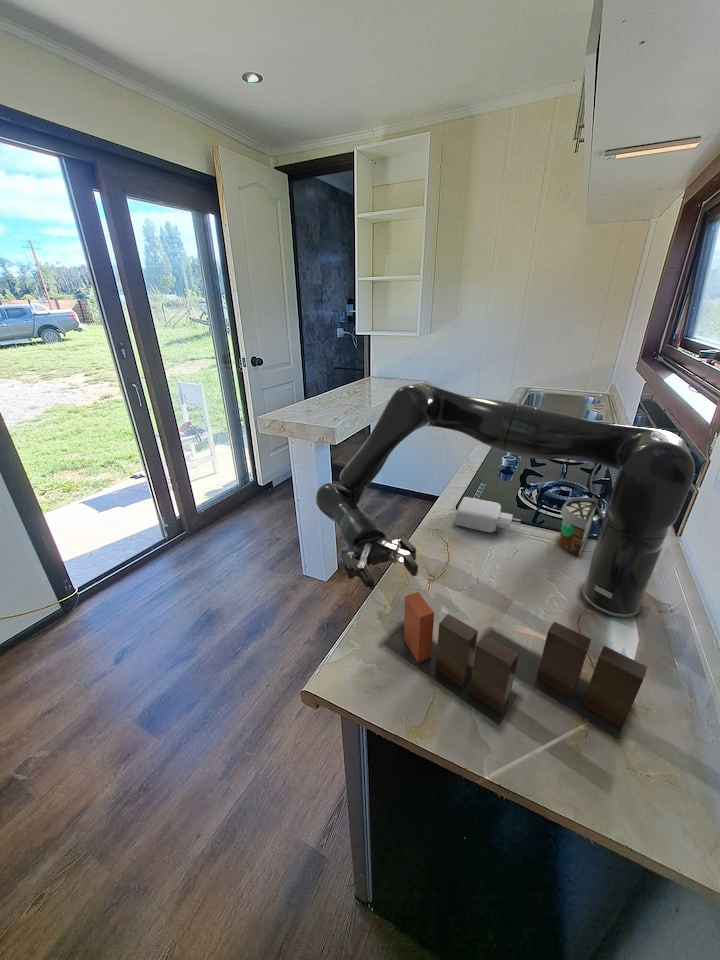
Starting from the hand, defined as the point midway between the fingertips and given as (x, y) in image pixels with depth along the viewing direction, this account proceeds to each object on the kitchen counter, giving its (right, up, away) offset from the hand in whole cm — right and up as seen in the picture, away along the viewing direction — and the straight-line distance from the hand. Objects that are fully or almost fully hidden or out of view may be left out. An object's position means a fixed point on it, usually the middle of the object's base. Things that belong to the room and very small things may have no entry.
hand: (394, 578), depth 69 cm
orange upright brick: (+3, -11, -4) cm, 12 cm away
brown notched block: (+23, -13, -10) cm, 29 cm away
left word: (+8, -13, -7) cm, 16 cm away
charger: (+27, +6, +31) cm, 41 cm away
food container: (+44, +3, +22) cm, 49 cm away
